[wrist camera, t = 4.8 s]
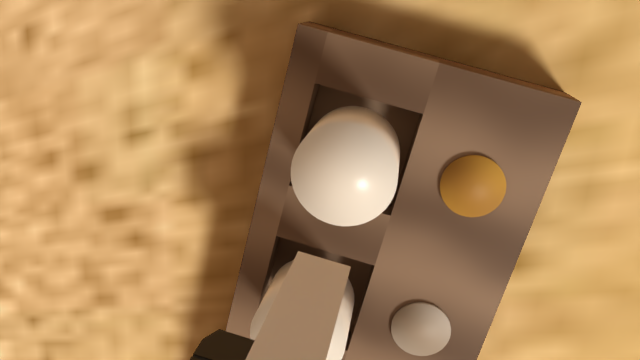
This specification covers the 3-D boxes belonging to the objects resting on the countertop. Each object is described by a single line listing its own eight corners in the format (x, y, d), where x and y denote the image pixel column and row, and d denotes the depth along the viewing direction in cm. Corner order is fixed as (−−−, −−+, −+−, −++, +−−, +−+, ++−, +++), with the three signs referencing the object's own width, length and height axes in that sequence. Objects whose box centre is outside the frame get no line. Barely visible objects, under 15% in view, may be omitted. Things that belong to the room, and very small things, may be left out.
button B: (281, 246, 30) (261, 282, 26) (364, 272, 29) (357, 312, 25) (262, 319, 31) (241, 363, 27) (341, 344, 31) (331, 392, 27)
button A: (320, 94, 27) (304, 109, 23) (412, 120, 27) (411, 140, 23) (297, 181, 28) (279, 208, 25) (385, 207, 28) (380, 239, 24)
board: (309, 21, 29) (297, 23, 26) (564, 92, 28) (582, 103, 25) (211, 426, 38) (193, 463, 35) (406, 491, 37) (406, 535, 34)
